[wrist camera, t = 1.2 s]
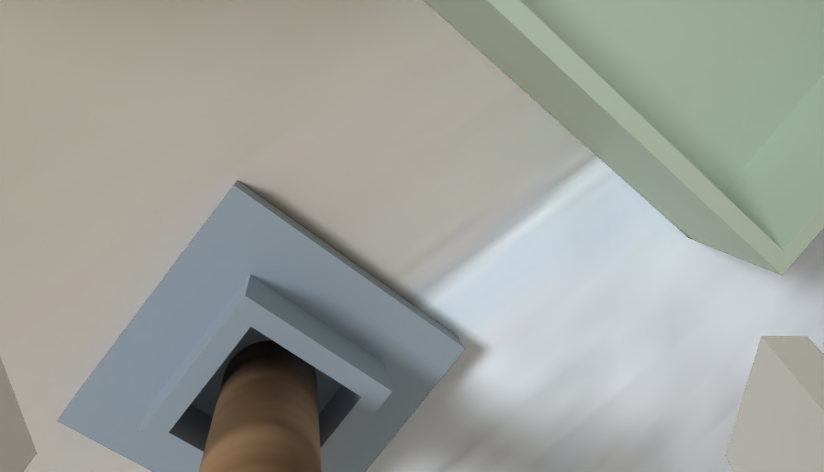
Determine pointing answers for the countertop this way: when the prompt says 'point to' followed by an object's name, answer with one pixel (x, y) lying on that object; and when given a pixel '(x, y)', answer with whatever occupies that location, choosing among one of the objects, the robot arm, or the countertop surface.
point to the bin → (681, 104)
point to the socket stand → (254, 322)
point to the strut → (265, 414)
